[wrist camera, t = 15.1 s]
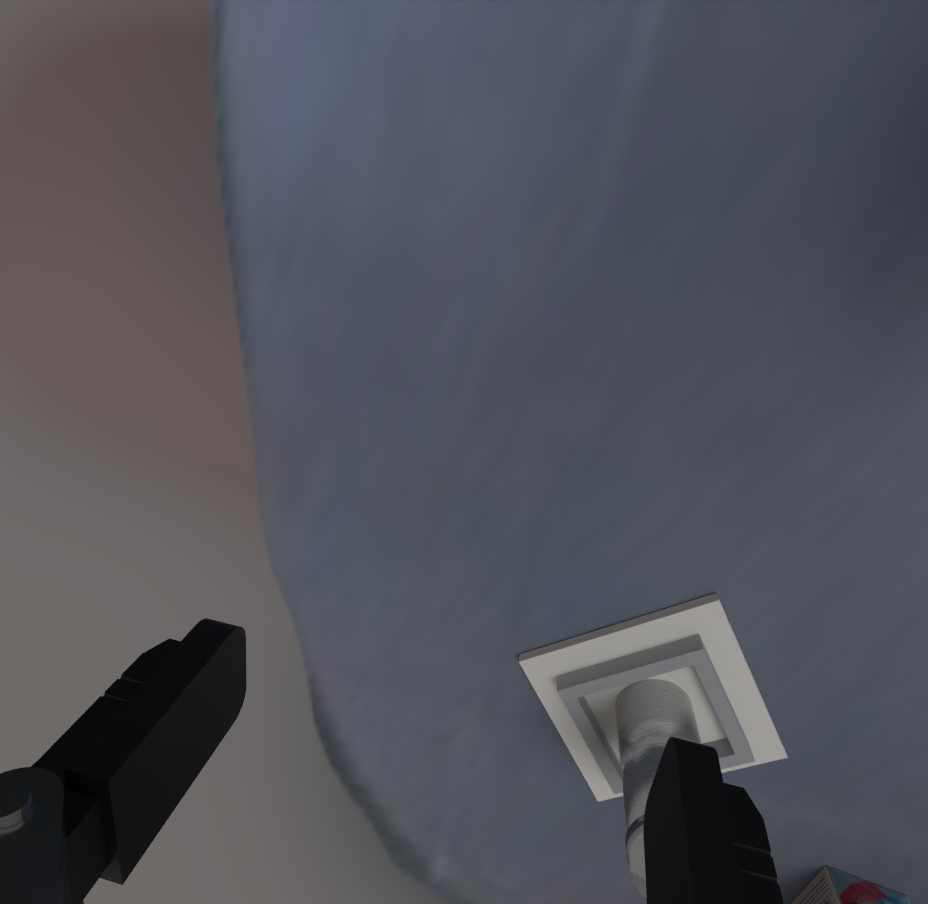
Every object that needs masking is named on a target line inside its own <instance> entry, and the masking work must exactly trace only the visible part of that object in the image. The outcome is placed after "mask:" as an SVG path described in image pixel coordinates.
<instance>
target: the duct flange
mask: <svg viewBox="0 0 928 904" xmlns="http://www.w3.org/2000/svg"><path fill="white" fill-rule="evenodd" d="M519 663H520V665H521V667H522V668H523V670H524V672H525V674H526V676H527V677H528V679H529V681H530V683H531V684H532V686H533V688H534V690H535V691H536V693H537V695H538V697H539V698H540V700H541V702H542V704H543V705H544V707H545V709H546V711H547V713H548V714H549V716H550V718H551V720H552V721H553V723H554V725H555V727H556V728H557V730H558V732H559V734H560V735H561V737H562V739H563V741H564V742H565V744H566V746H567V748H568V750H569V751H570V753H571V755H572V757H573V758H574V760H575V762H576V764H577V765H578V767H579V769H580V771H581V772H582V774H583V776H584V778H585V779H586V781H587V783H588V785H589V787H590V788H591V790H592V792H593V794H594V795H595V797H596V799H597V801H603V800H607V799H611V798H616V797H620V796H623V785H622V775H621V764H620V754H619V744H618V733H617V723H616V712H615V704H616V700H617V697H618V695H619V694H620V693H621V691H622V690H623V689H624V688H626V687H627V686H629V685H630V684H632V683H634V682H637V681H640V680H645V679H661V680H666V681H669V682H672V683H674V684H676V685H678V686H679V687H681V688H682V689H683V690H684V691H685V692H686V693H687V694H688V696H689V697H690V699H691V702H692V706H693V710H694V714H695V718H696V722H697V726H698V731H699V735H700V739H701V743H702V744H703V745H707V746H711V747H714V748H715V749H716V751H717V753H718V757H719V763H720V768H721V773H723V772H728V771H732V770H736V769H741V768H745V767H749V766H754V765H758V764H762V763H767V762H771V761H775V760H780V759H784V758H788V757H787V754H786V752H785V749H784V747H783V744H782V742H781V740H780V738H779V735H778V733H777V731H776V728H775V726H774V724H773V721H772V719H771V717H770V715H769V712H768V710H767V708H766V705H765V703H764V701H763V699H762V696H761V694H760V692H759V689H758V687H757V685H756V682H755V680H754V678H753V676H752V673H751V671H750V669H749V666H748V664H747V662H746V660H745V657H744V655H743V653H742V650H741V648H740V646H739V643H738V641H737V639H736V637H735V634H734V632H733V630H732V627H731V625H730V623H729V621H728V618H727V616H726V614H725V611H724V609H723V607H722V604H721V602H720V600H719V598H718V595H717V593H714V594H711V595H708V596H705V597H701V598H698V599H695V600H692V601H689V602H685V603H682V604H679V605H676V606H673V607H669V608H666V609H663V610H660V611H657V612H653V613H650V614H647V615H644V616H641V617H637V618H634V619H631V620H628V621H625V622H621V623H618V624H615V625H612V626H609V627H605V628H602V629H599V630H596V631H593V632H589V633H586V634H583V635H580V636H577V637H573V638H570V639H567V640H564V641H561V642H557V643H554V644H551V645H548V646H545V647H541V648H538V649H535V650H532V651H529V652H525V653H522V654H520V655H519Z"/></svg>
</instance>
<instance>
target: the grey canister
mask: <svg viewBox="0 0 928 904" xmlns="http://www.w3.org/2000/svg"><path fill="white" fill-rule="evenodd" d="M615 712H616V723H617V733H618V744H619V754H620V764H621V775H622V785H623V796H624V806H625V816H626V827H627V833H626V837H625V845H626V856H627V861H628V863H629V866H630V868H631V877H632V881H633V884H634V886H635V887H636V889H637V890H638V891H639V892H640V893H641V894H642V895H643V896H644V897H645V898H647V894H646V874H645V855H644V834H643V828H644V814H645V807H646V802H647V798H648V794H649V791H650V788H651V786H652V783H653V780H654V777H655V774H656V771H657V768H658V766H659V763H660V760H661V757H662V754H663V751H664V748H665V746H666V743H667V741H668V739H669V738H670V737H675V738H679V739H683V740H687V741H691V742H695V743H699V744H702V743H701V739H700V735H699V731H698V726H697V722H696V718H695V714H694V710H693V706H692V702H691V699H690V697H689V696H688V694H687V693H686V692H685V691H684V690H683V689H682V688H681V687H679V686H678V685H676V684H674V683H672V682H669V681H666V680H661V679H645V680H640V681H637V682H634V683H632V684H630V685H629V686H627V687H626V688H624V689H623V690H622V691H621V693H620V694H619V695H618V697H617V700H616V704H615Z"/></svg>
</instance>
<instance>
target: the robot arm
mask: <svg viewBox="0 0 928 904" xmlns="http://www.w3.org/2000/svg"><path fill="white" fill-rule="evenodd" d="M245 693H246V634H245V630H244V629H243V628H242V627H239V626H235V625H231V624H226V623H223V622H219V621H215V620H211V619H203V620H201V621H200V622H199V623H198V624H196V626H195V627H194V628H193V629H192V630H191V631H190V632H189V633H188V634H187V635H186V637H184V639H183V640H182V641H176V640H173V639H168V640H166V641H164V642H162V643H161V644H159V645H157V646H155V647H154V648H152V649H150V650H148V651H147V652H145V653H143V654H141V655H140V657H138V659H137V660H136V661H135V662H134V663H133V664H132V665H131V666H130V667H129V668H128V669H127V670H126V671H125V672H124V673H123V674H122V676H121V678H120V679H117V680H116V681H115V682H114V683H113V684H112V685H111V686H110V687H109V688H108V689H107V690H106V691H105V694H104V696H103V697H102V696H100V697H99V698H98V699H97V700H96V702H95V703H94V704H93V705H92V706H91V707H90V708H89V709H88V710H87V711H86V712H85V713H84V714H83V715H82V716H81V717H80V718H79V719H78V720H77V721H76V722H75V723H74V724H73V725H72V726H71V727H70V728H69V729H68V730H67V731H66V732H65V733H64V734H63V735H62V736H61V737H60V738H59V739H58V740H57V741H56V742H55V743H54V745H53V746H52V747H51V748H50V749H49V750H48V751H47V752H46V753H45V754H44V755H43V756H42V757H41V758H40V759H39V760H38V761H37V762H36V763H35V764H33V765H32V766H31V767H24V768H18V769H13V770H10V771H6V772H4V773H1V774H0V904H84V900H83V899H84V898H85V897H86V895H87V894H88V892H89V891H90V890H91V888H92V887H93V885H94V884H95V883H96V881H97V880H98V879H99V878H102V879H105V880H109V881H112V882H115V883H118V884H123V883H124V882H125V880H126V879H127V878H128V876H129V875H130V873H131V872H132V870H133V869H134V867H135V866H136V864H137V863H138V862H139V860H140V859H141V857H142V856H143V854H144V853H145V851H146V850H147V848H148V847H149V846H150V844H151V842H152V841H153V840H154V838H155V836H156V835H157V834H158V832H159V831H160V829H161V828H162V826H163V825H164V824H165V822H166V821H167V819H168V818H169V816H170V815H171V813H172V812H173V811H174V809H175V808H176V806H177V805H178V803H179V802H180V800H181V799H182V797H183V796H184V795H185V793H186V791H187V790H188V789H189V787H190V786H191V784H192V782H193V781H194V780H195V778H196V777H197V776H198V774H199V773H200V771H201V770H202V768H203V767H204V765H205V764H206V762H207V761H208V760H209V758H210V757H211V755H212V754H213V752H214V751H215V749H216V748H217V746H218V745H219V743H220V742H221V741H222V739H223V738H224V736H225V735H226V733H227V732H228V730H229V729H230V728H231V726H232V725H233V723H234V722H235V720H236V718H237V716H238V714H239V712H240V709H241V707H242V705H243V702H244V698H245ZM643 834H644V855H645V874H646V894H647V904H783V899H782V895H781V891H780V887H779V884H777V874H776V870H775V866H774V862H773V857H771V856H770V853H771V849H770V845H769V841H768V836H767V832H766V828H765V824H764V820H763V818H762V816H761V814H760V813H759V811H758V810H757V808H756V806H755V805H754V803H753V802H752V800H751V798H750V797H749V795H748V794H747V792H746V791H745V789H744V788H741V787H737V786H734V785H730V784H726V783H723V779H722V773H721V768H720V763H719V757H718V753H717V751H716V749H715V748H714V747H711V746H707V745H703V744H699V743H695V742H691V741H687V740H683V739H679V738H675V737H670V738H669V739H668V741H667V743H666V746H665V748H664V751H663V754H662V757H661V760H660V763H659V766H658V768H657V771H656V774H655V777H654V780H653V783H652V786H651V788H650V791H649V794H648V798H647V802H646V807H645V814H644V828H643Z"/></svg>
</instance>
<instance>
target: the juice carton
mask: <svg viewBox="0 0 928 904" xmlns="http://www.w3.org/2000/svg"><path fill="white" fill-rule="evenodd" d="M791 904H911V903H910V901H909V899H908V897H907V896H906V895H903V894H901V893H898V892H895V891H893V890H890V889H887V888H885V887H882V886H879V885H877V884H874V883H871V882H869V881H866V880H863V879H861V878H858V877H855V876H853V875H850V874H847V873H845V872H842V871H839V870H837V869H834V868H831V867H828V866H825V867H824V868H823V869H822V870H821V871H820V872H819V873H818V874H817V875H816V876H815V878H814V879H813V880H812V881H811V882H810V883H809V884H808V885H807V886H806V887H805V888H804V889H803V891H802V892H801V893H800V894H799V895H798V896H797V897H796V898H795V899H794V900H793V901H792V903H791Z"/></svg>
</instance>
